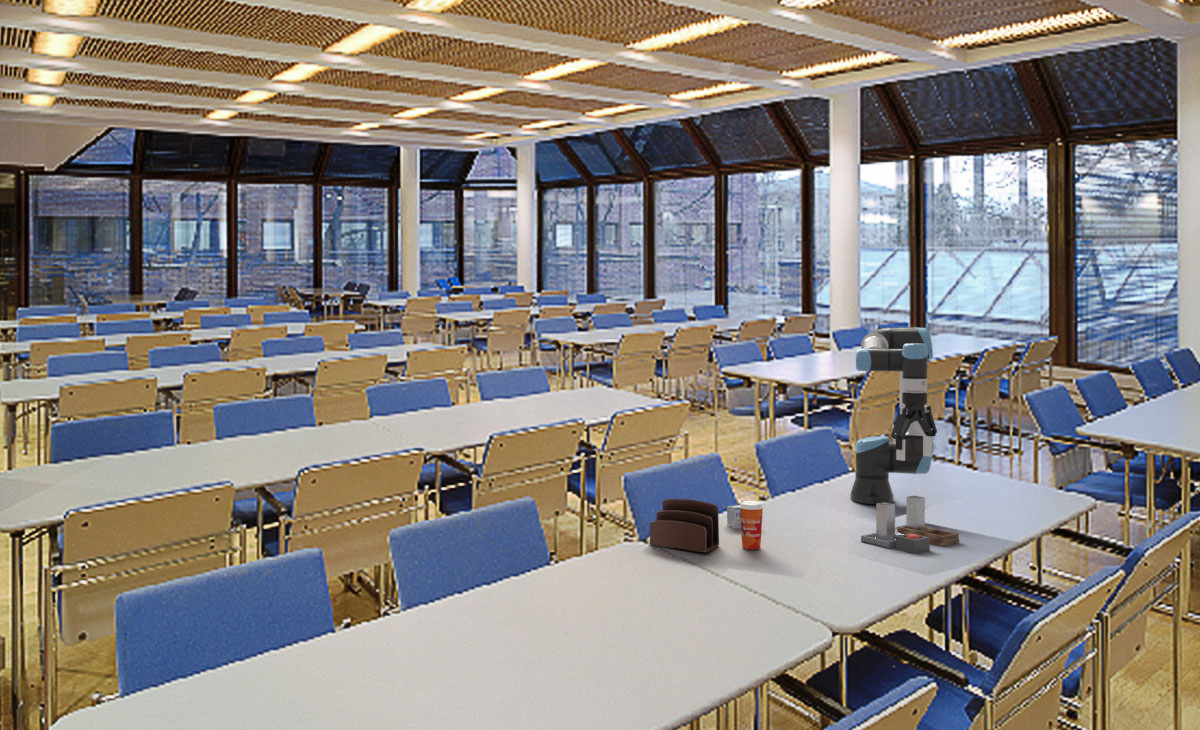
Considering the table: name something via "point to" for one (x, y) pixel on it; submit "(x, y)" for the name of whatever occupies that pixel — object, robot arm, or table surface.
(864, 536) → the tray
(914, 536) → the button
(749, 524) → the paper cup
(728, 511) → the medicine box
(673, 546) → the letter holder
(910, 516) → the billet
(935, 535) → the wooden tray
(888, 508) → the block
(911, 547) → the button housing
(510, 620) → the table surface
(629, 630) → the table surface
